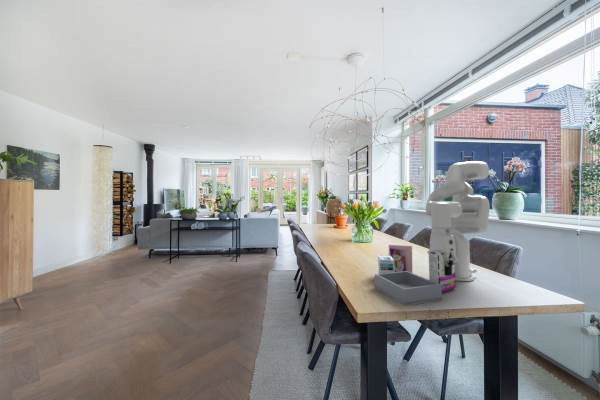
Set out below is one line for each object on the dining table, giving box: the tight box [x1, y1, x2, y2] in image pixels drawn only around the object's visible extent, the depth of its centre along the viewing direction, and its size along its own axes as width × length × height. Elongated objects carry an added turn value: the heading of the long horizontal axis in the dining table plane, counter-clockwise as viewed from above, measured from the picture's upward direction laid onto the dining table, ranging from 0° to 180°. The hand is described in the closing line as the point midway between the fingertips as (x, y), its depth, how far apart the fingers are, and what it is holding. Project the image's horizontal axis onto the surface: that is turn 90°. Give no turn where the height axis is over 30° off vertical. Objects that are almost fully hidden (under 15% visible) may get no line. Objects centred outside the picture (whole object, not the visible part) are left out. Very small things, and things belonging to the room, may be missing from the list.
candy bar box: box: [428, 251, 457, 293], centre depth 110 cm, size 11×5×16 cm, turn 117°
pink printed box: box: [388, 244, 413, 273], centre depth 133 cm, size 11×7×15 cm, turn 33°
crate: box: [374, 271, 443, 306], centre depth 107 cm, size 17×20×6 cm
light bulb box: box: [377, 254, 395, 274], centre depth 126 cm, size 11×7×11 cm, turn 168°
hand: (442, 272), depth 110 cm, fingers closed on candy bar box, 5 cm apart
